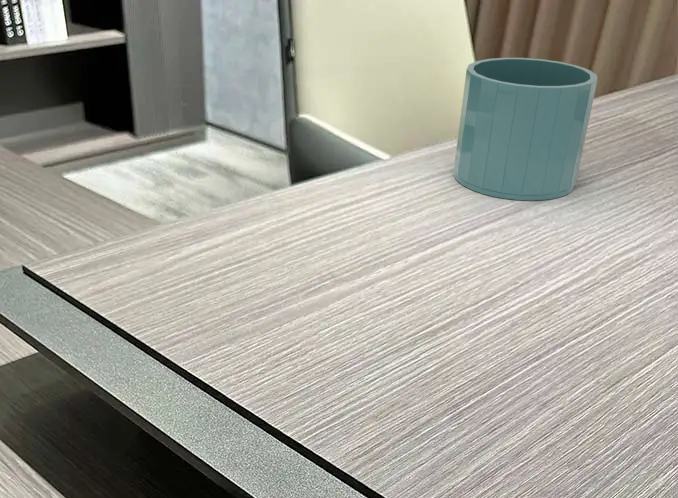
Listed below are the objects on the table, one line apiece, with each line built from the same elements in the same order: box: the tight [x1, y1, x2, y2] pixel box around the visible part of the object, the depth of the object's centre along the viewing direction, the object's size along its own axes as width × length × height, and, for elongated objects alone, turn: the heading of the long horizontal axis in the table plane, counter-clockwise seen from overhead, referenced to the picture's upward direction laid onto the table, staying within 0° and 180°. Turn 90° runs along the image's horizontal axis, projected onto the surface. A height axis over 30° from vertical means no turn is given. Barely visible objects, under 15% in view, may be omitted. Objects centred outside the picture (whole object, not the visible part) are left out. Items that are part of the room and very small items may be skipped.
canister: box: [453, 57, 598, 201], centre depth 75 cm, size 11×11×10 cm
